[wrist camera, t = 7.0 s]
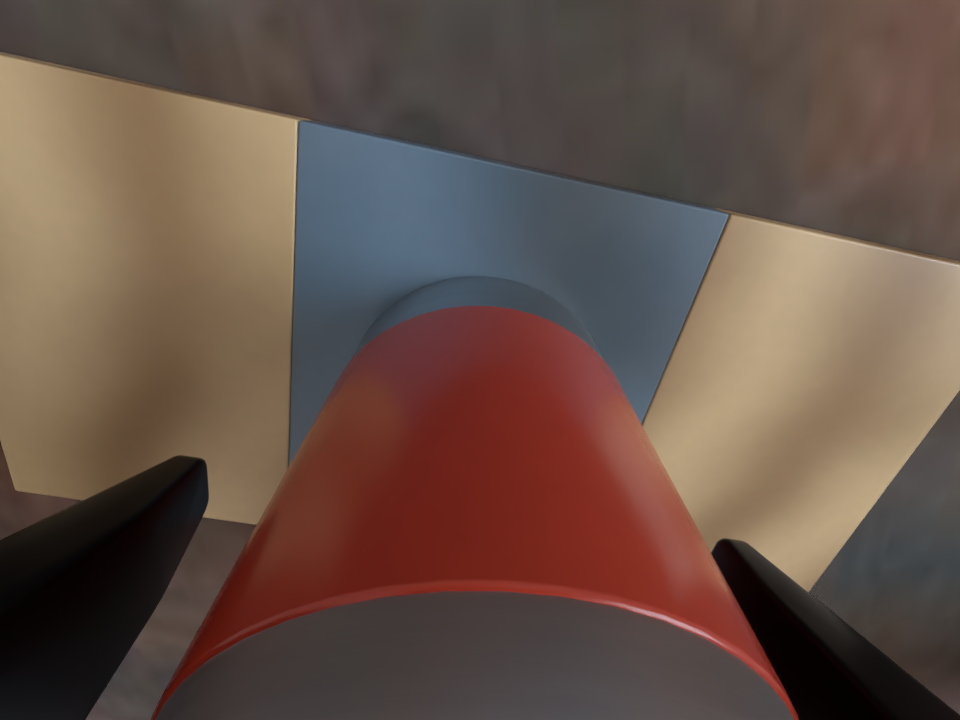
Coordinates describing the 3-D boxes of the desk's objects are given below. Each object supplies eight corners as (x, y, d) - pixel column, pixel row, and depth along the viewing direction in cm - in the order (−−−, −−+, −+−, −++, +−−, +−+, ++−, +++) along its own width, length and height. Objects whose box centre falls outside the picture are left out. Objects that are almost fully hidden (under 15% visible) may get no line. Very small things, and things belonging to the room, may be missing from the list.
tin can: (447, 530, 14) (389, 1281, 5) (293, 367, 12) (-380, 1248, 3) (650, 428, 12) (1117, 1260, 3) (520, 215, 10) (929, 1114, 1)
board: (43, 468, 14) (14, 491, 13) (-69, 36, 9) (-127, 27, 9) (784, 576, 16) (801, 603, 15) (999, 269, 12) (1042, 281, 11)
